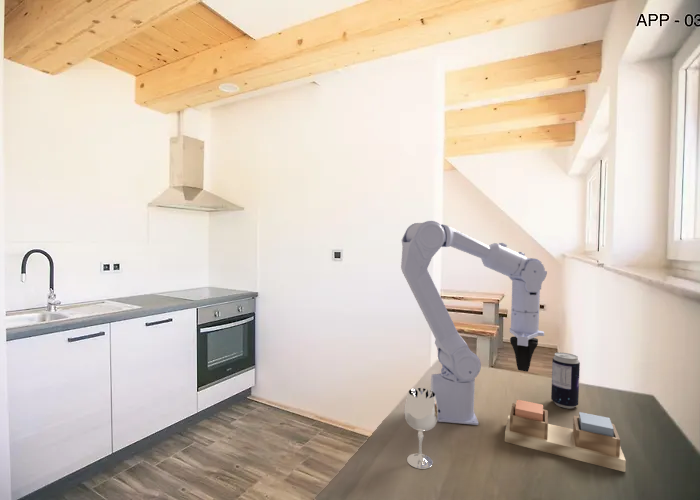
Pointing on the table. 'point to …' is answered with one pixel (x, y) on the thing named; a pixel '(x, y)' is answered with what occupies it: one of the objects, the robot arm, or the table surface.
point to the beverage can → (565, 380)
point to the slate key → (595, 424)
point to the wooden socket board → (565, 441)
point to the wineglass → (421, 420)
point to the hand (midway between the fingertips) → (523, 370)
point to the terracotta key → (529, 410)
